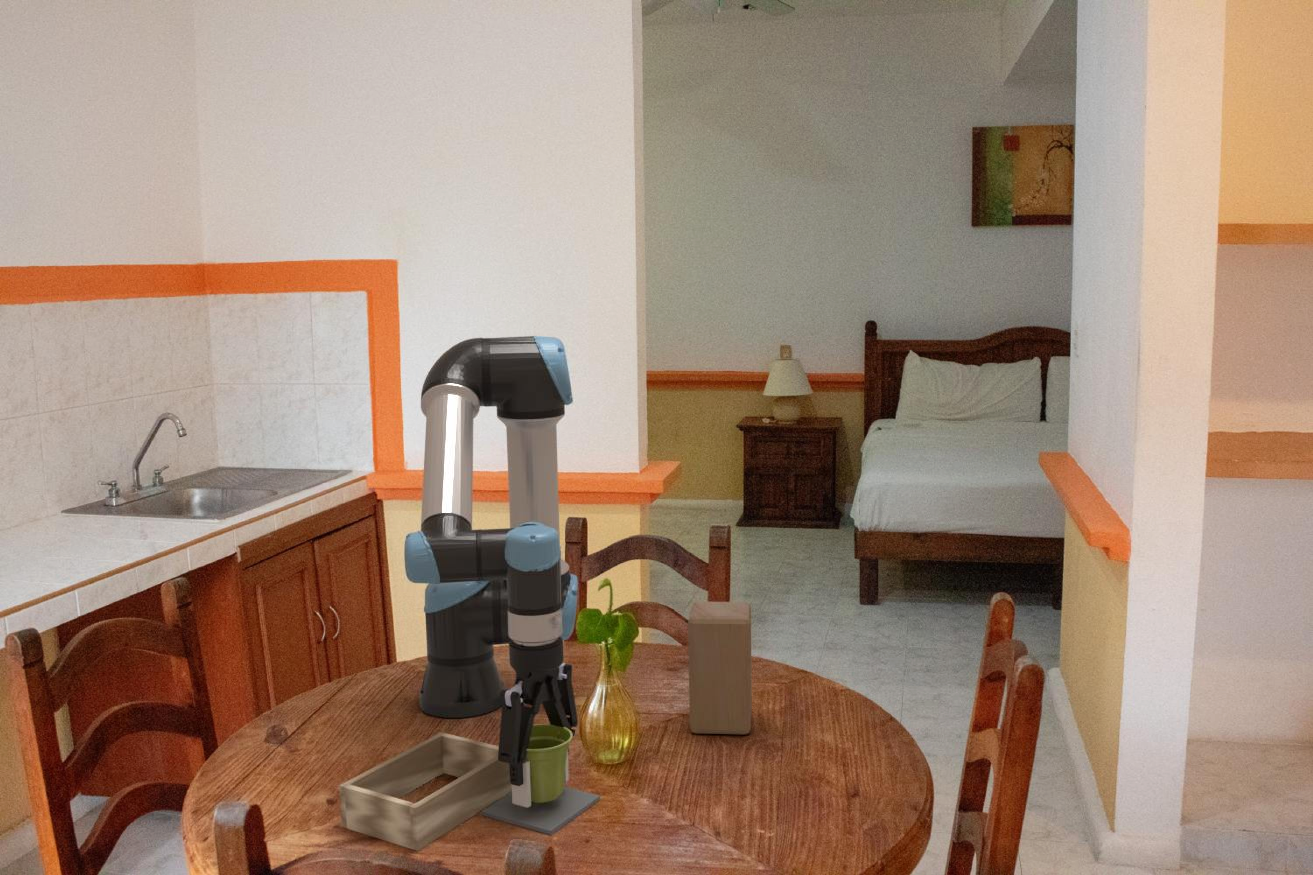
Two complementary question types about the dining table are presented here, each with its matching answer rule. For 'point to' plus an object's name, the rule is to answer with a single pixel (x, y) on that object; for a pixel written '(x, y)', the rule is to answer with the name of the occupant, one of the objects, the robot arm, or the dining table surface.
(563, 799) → the pad
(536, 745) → the plant pot
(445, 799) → the crate
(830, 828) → the dining table surface
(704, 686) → the wooden block
